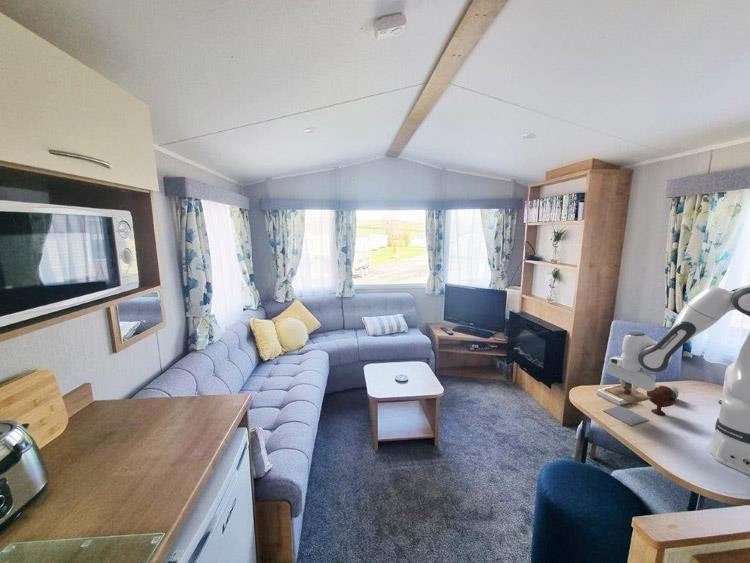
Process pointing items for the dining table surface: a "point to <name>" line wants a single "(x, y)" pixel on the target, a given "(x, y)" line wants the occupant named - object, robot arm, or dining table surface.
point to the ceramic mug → (675, 391)
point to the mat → (626, 415)
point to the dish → (611, 397)
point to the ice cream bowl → (661, 399)
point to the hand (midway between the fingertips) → (627, 390)
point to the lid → (627, 394)
